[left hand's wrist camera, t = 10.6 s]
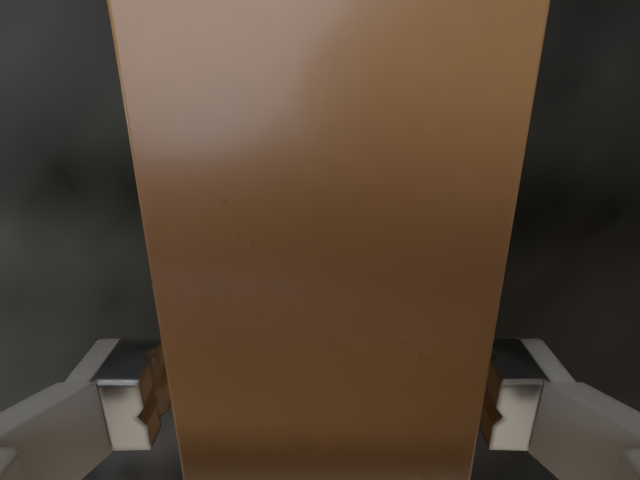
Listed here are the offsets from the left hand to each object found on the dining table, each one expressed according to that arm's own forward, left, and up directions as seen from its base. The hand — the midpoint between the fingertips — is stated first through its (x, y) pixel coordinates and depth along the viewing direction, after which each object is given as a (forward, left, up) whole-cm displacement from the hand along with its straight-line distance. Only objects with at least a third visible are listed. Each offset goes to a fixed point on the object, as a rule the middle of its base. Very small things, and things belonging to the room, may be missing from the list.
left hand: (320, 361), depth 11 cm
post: (-2, -21, -4) cm, 21 cm away
